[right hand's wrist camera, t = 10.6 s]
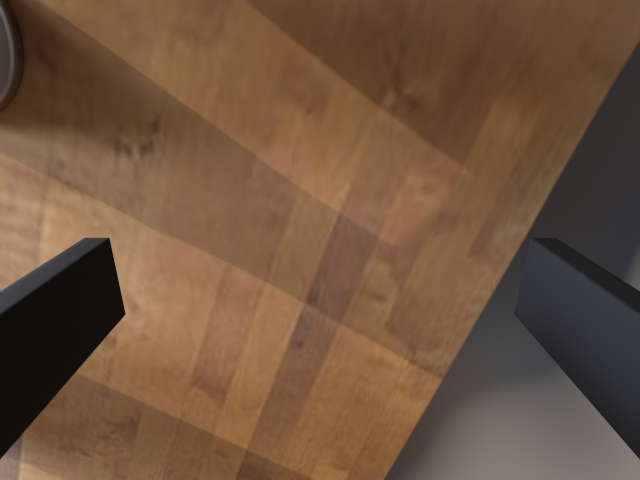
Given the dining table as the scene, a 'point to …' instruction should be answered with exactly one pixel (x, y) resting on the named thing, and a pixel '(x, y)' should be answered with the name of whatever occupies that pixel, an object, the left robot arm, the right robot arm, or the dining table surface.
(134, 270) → the dining table surface
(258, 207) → the dining table surface
